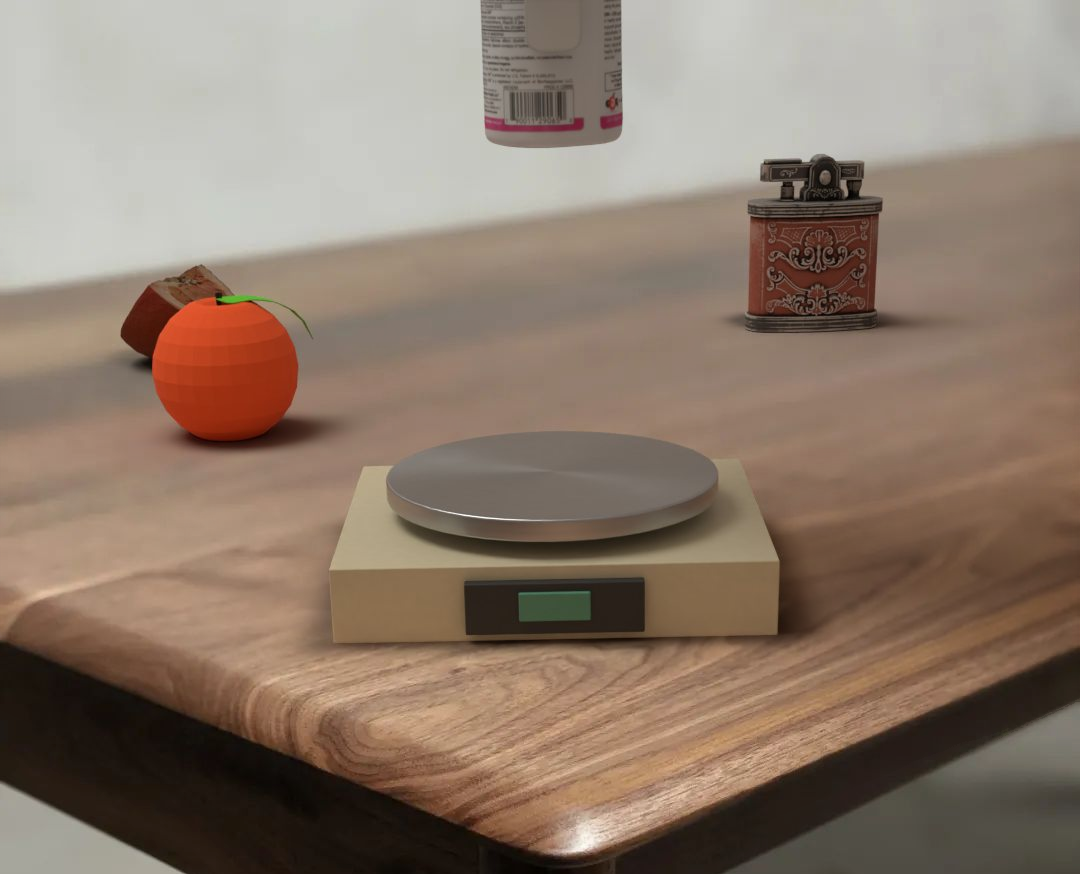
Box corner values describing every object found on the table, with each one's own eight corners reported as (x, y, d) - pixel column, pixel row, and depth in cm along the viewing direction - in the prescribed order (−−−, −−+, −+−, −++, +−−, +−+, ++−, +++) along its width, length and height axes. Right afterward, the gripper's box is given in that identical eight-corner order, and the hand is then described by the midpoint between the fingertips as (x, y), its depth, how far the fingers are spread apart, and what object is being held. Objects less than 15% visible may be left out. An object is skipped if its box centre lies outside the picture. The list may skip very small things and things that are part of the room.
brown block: (162, 343, 112) (153, 259, 110) (267, 346, 110) (260, 261, 108) (103, 373, 104) (93, 284, 102) (216, 376, 103) (207, 286, 101)
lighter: (869, 318, 114) (877, 150, 110) (882, 329, 111) (891, 156, 107) (740, 322, 114) (744, 154, 110) (749, 333, 111) (753, 160, 107)
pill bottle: (567, 131, 66) (564, -125, 63) (650, 141, 63) (652, -131, 60) (457, 141, 64) (448, -125, 61) (537, 152, 60) (532, -131, 57)
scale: (738, 530, 74) (740, 458, 73) (779, 650, 62) (781, 565, 61) (367, 538, 74) (362, 465, 73) (332, 659, 62) (326, 574, 61)
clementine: (293, 414, 94) (283, 273, 91) (346, 443, 88) (336, 293, 86) (141, 435, 91) (125, 289, 88) (185, 467, 85) (170, 311, 82)
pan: (704, 447, 72) (704, 427, 72) (733, 539, 61) (734, 516, 61) (398, 453, 72) (397, 433, 72) (373, 546, 61) (372, 523, 61)
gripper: (669, -508, 47) (664, 63, 53) (634, -382, 66) (633, 29, 71) (423, -503, 47) (443, 67, 53) (458, -378, 66) (471, 33, 72)
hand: (553, 45), depth 62 cm, fingers closed on pill bottle, 5 cm apart
